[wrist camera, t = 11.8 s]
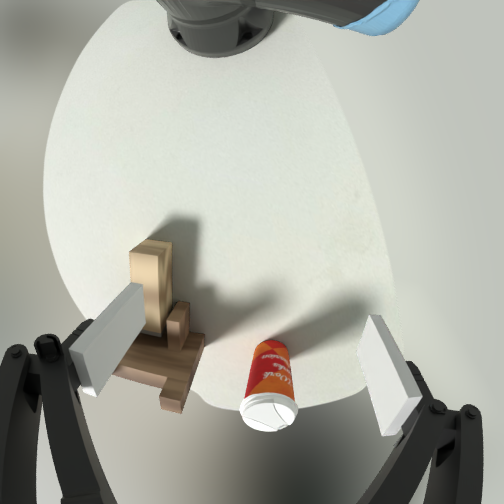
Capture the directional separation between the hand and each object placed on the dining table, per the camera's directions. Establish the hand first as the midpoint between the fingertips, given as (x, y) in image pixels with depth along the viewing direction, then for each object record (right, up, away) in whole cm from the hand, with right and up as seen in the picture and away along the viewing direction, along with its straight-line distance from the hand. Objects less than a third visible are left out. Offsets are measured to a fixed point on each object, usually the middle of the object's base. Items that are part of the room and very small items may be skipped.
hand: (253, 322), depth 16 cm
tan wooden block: (-15, 0, +30) cm, 34 cm away
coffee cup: (+3, -14, +33) cm, 36 cm away
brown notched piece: (-16, -8, +33) cm, 37 cm away
